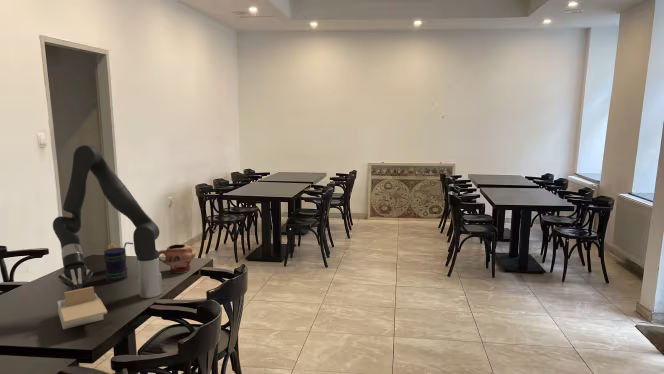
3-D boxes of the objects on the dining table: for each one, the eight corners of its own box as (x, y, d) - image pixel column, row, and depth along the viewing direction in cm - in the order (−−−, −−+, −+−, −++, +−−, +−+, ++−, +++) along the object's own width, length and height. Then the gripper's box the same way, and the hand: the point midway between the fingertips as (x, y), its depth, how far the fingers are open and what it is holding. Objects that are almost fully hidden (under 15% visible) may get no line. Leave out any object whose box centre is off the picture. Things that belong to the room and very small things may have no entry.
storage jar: (105, 283, 214) (102, 254, 212) (107, 277, 223) (104, 248, 221) (127, 280, 218) (125, 251, 216) (128, 274, 227) (126, 246, 225)
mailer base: (96, 306, 187) (95, 293, 186) (103, 319, 174) (102, 305, 173) (58, 315, 179) (57, 301, 178) (63, 329, 166) (61, 314, 165)
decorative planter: (155, 276, 224) (153, 250, 222) (159, 269, 235) (157, 244, 233) (195, 273, 228) (194, 247, 226) (197, 266, 240) (196, 241, 238)
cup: (137, 266, 240) (135, 240, 238) (132, 271, 232) (130, 243, 230) (110, 267, 239) (108, 240, 236) (104, 272, 231) (102, 244, 229)
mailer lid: (99, 299, 178) (98, 285, 177) (107, 313, 165) (106, 297, 164) (59, 308, 170) (58, 293, 169) (64, 323, 157) (62, 306, 156)
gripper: (54, 255, 175) (60, 293, 167) (91, 249, 183) (98, 286, 175) (54, 264, 180) (60, 302, 172) (90, 258, 188) (97, 294, 180)
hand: (79, 294), depth 174 cm, fingers closed
